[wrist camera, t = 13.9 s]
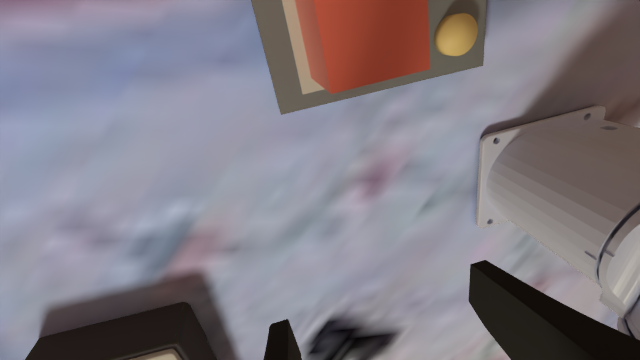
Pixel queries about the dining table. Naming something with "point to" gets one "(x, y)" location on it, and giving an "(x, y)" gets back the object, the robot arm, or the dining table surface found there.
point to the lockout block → (363, 40)
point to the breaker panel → (303, 92)
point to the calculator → (131, 338)
